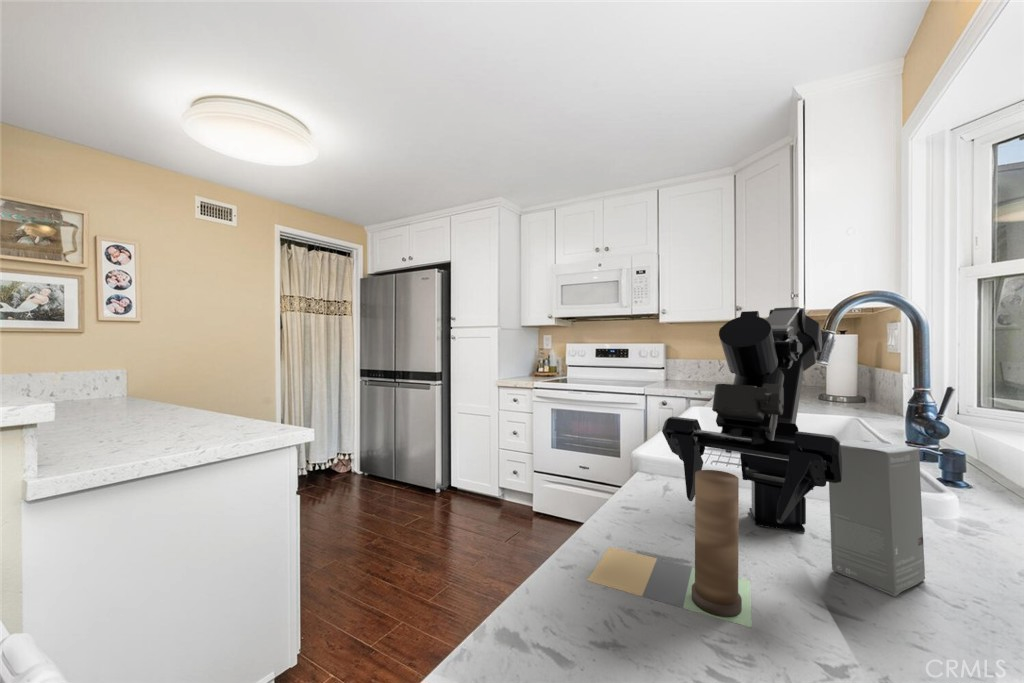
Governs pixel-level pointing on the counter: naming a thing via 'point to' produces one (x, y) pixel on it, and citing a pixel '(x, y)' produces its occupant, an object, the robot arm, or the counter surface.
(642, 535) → the counter surface
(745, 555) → the counter surface
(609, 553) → the striped board
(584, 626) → the counter surface
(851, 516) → the skincare box
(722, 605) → the walnut peg
